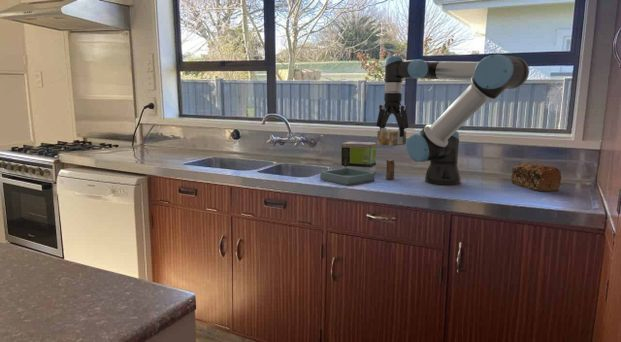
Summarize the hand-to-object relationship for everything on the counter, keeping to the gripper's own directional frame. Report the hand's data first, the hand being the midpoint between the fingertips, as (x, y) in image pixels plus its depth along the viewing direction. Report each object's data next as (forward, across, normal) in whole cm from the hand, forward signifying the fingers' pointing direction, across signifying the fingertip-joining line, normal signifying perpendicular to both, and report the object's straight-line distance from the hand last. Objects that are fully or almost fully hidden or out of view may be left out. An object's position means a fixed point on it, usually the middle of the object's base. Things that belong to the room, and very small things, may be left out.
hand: (391, 143), depth 203 cm
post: (+16, 0, 0) cm, 16 cm away
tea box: (+17, +21, -1) cm, 27 cm away
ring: (0, 0, +1) cm, 1 cm away
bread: (+17, -50, -34) cm, 62 cm away
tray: (+16, +10, +18) cm, 26 cm away
